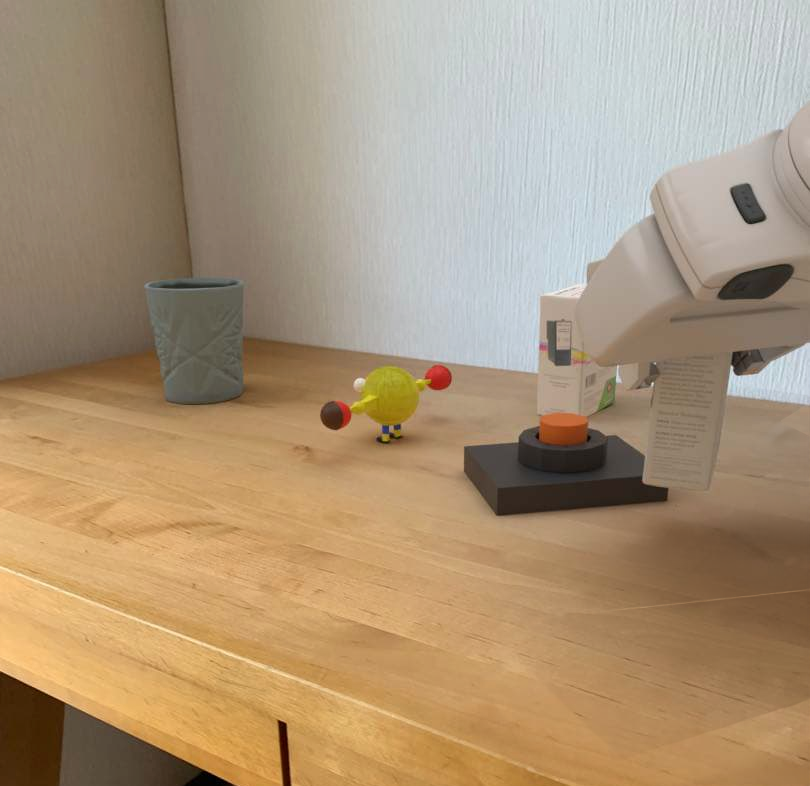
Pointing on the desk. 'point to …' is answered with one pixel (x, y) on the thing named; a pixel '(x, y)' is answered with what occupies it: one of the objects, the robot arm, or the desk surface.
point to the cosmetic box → (686, 421)
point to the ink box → (569, 358)
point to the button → (563, 429)
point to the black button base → (559, 474)
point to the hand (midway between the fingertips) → (686, 373)
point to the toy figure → (386, 399)
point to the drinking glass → (198, 337)
